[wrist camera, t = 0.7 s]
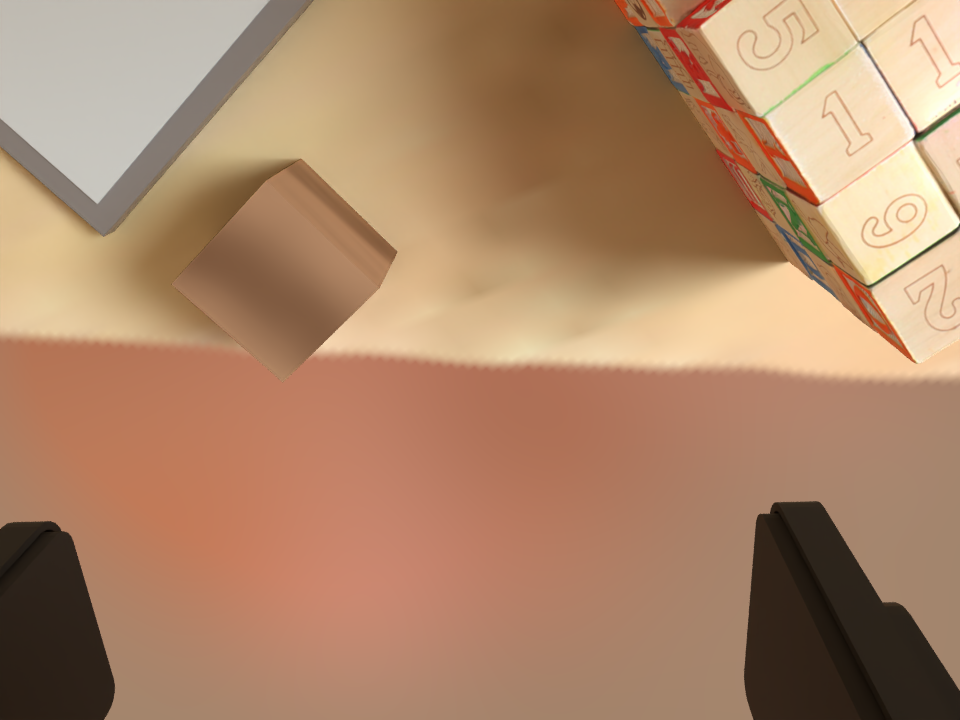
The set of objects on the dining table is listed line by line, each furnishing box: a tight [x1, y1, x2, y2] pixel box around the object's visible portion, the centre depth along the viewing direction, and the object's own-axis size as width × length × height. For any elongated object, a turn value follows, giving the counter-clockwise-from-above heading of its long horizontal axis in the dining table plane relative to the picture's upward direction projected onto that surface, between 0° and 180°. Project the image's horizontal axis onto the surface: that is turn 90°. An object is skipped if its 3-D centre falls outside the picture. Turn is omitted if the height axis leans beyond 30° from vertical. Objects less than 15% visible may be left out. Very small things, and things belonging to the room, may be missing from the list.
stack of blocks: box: [614, 0, 960, 364], centre depth 27 cm, size 21×6×12 cm, turn 38°
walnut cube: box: [171, 159, 397, 382], centre depth 34 cm, size 6×6×6 cm
